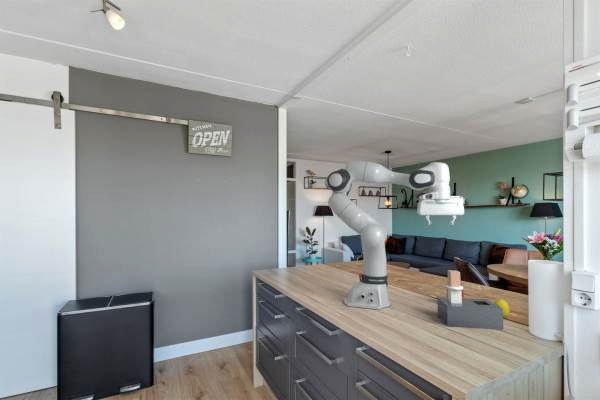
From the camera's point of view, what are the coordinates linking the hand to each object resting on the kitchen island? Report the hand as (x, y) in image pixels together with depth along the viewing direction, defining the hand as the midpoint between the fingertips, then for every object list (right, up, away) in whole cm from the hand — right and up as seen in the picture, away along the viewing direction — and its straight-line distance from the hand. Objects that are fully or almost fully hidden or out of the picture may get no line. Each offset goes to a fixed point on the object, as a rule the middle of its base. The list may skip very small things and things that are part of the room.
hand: (440, 225), depth 132 cm
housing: (+3, -38, -17) cm, 42 cm away
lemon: (+19, -39, -13) cm, 45 cm away
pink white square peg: (-2, -30, -16) cm, 34 cm away
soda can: (+8, -39, +1) cm, 40 cm away
